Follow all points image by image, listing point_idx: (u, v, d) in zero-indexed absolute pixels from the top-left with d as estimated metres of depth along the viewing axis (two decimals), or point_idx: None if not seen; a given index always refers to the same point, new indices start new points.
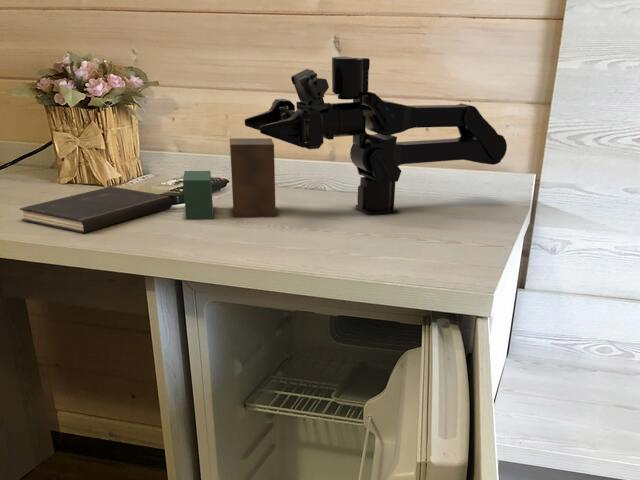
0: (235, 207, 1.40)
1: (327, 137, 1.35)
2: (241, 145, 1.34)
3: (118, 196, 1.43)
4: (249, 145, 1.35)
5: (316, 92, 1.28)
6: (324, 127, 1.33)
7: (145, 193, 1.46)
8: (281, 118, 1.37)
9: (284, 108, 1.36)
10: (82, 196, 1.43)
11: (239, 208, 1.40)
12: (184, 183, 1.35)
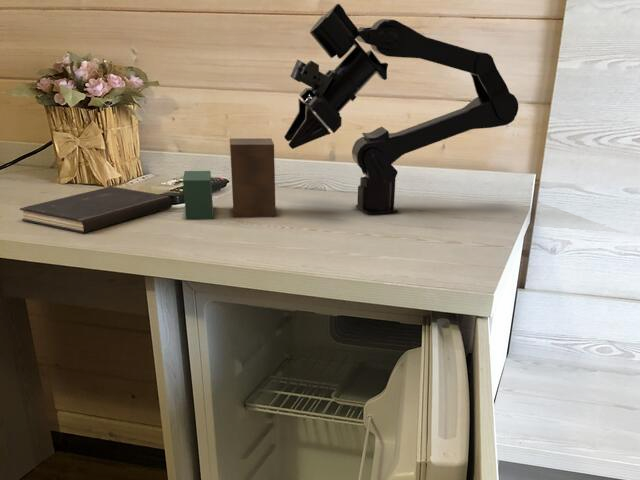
0: (235, 207, 1.40)
1: (351, 99, 1.34)
2: (241, 145, 1.34)
3: (118, 196, 1.43)
4: (249, 145, 1.35)
5: (311, 78, 1.30)
6: (341, 95, 1.33)
7: (145, 193, 1.46)
8: (311, 109, 1.41)
9: (308, 99, 1.40)
10: (82, 196, 1.43)
11: (239, 208, 1.40)
12: (184, 183, 1.35)
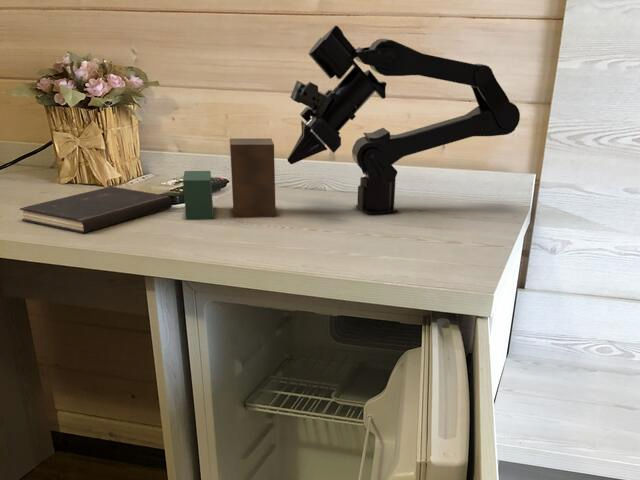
0: (235, 207, 1.40)
1: (350, 118, 1.36)
2: (241, 145, 1.34)
3: (118, 196, 1.43)
4: (249, 145, 1.35)
5: (311, 99, 1.31)
6: (340, 115, 1.35)
7: (145, 193, 1.46)
8: None
9: (311, 121, 1.38)
10: (82, 196, 1.43)
11: (239, 208, 1.40)
12: (184, 183, 1.35)
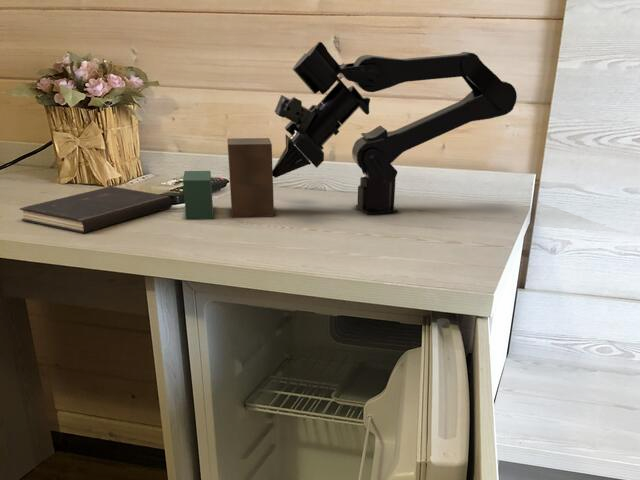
0: (233, 207, 1.40)
1: (334, 133, 1.37)
2: (239, 145, 1.34)
3: (118, 196, 1.43)
4: (247, 145, 1.34)
5: (294, 114, 1.32)
6: (324, 130, 1.36)
7: (145, 193, 1.46)
8: None
9: (295, 135, 1.39)
10: (82, 196, 1.43)
11: (238, 208, 1.40)
12: (184, 183, 1.35)
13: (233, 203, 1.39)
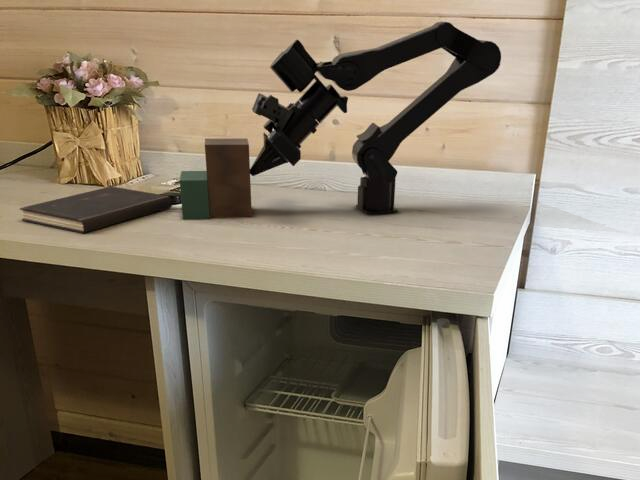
0: (211, 207, 1.39)
1: (311, 132, 1.36)
2: (216, 145, 1.34)
3: (118, 196, 1.43)
4: (224, 145, 1.34)
5: (271, 112, 1.32)
6: (301, 128, 1.35)
7: (145, 193, 1.46)
8: None
9: None
10: (82, 196, 1.43)
11: (215, 208, 1.39)
12: (181, 183, 1.35)
13: (210, 203, 1.39)
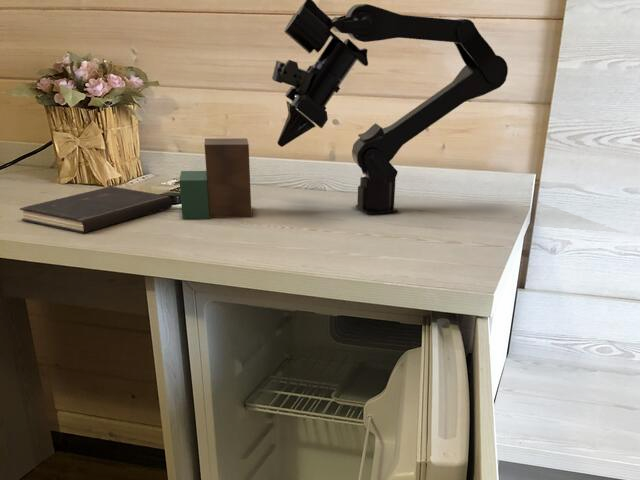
0: (210, 207, 1.39)
1: (335, 91, 1.33)
2: (215, 145, 1.34)
3: (118, 196, 1.43)
4: (223, 145, 1.34)
5: (292, 77, 1.29)
6: (324, 89, 1.32)
7: (145, 193, 1.46)
8: None
9: None
10: (82, 196, 1.43)
11: (215, 208, 1.39)
12: (180, 183, 1.35)
13: (210, 203, 1.39)
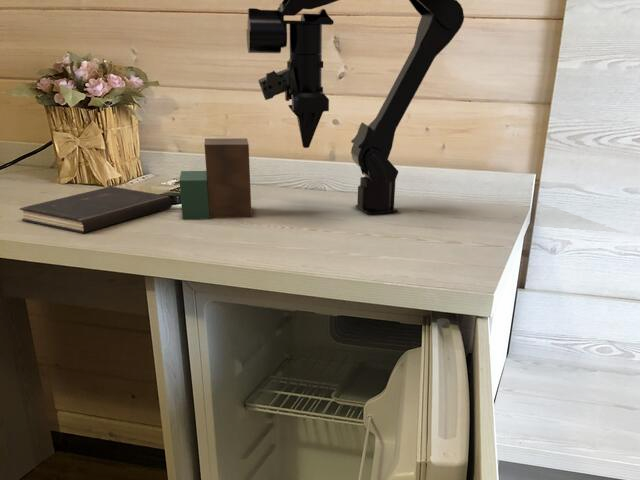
0: (210, 207, 1.39)
1: (321, 67, 1.30)
2: (215, 145, 1.34)
3: (118, 196, 1.43)
4: (223, 145, 1.34)
5: (278, 86, 1.29)
6: (311, 73, 1.30)
7: (145, 193, 1.46)
8: None
9: None
10: (82, 196, 1.43)
11: (215, 208, 1.39)
12: (180, 183, 1.35)
13: (210, 203, 1.39)
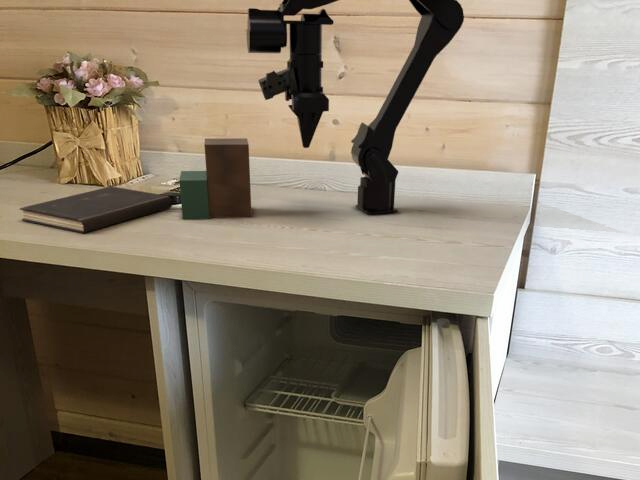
0: (210, 207, 1.39)
1: (321, 67, 1.30)
2: (215, 145, 1.34)
3: (118, 196, 1.43)
4: (223, 145, 1.34)
5: (278, 86, 1.29)
6: (311, 73, 1.30)
7: (145, 193, 1.46)
8: None
9: None
10: (82, 196, 1.43)
11: (215, 208, 1.39)
12: (180, 183, 1.35)
13: (210, 203, 1.39)
